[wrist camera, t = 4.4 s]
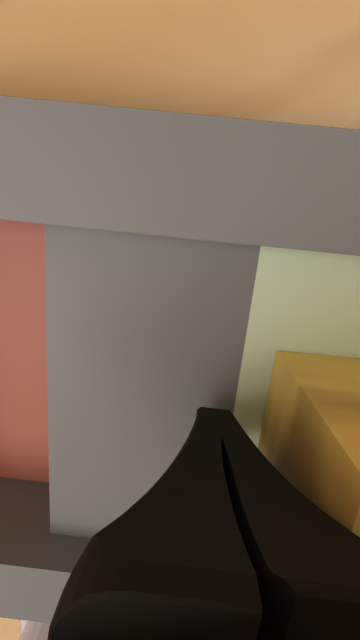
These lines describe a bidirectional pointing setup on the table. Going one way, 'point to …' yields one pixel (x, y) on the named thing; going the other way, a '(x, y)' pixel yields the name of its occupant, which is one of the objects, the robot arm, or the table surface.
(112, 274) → the trap track
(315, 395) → the block
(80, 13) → the table surface
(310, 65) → the table surface
